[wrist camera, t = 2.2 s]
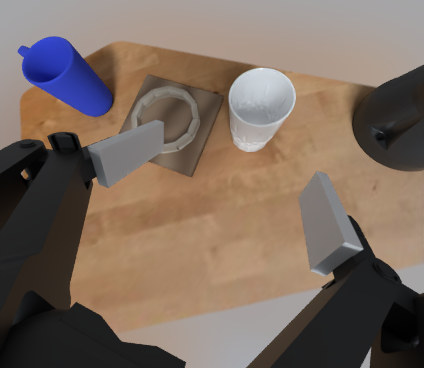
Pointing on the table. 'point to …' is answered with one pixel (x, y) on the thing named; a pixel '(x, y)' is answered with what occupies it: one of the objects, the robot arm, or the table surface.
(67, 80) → the mug
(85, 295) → the table surface
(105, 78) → the table surface
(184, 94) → the brown flat ringed piece
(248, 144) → the white cup
